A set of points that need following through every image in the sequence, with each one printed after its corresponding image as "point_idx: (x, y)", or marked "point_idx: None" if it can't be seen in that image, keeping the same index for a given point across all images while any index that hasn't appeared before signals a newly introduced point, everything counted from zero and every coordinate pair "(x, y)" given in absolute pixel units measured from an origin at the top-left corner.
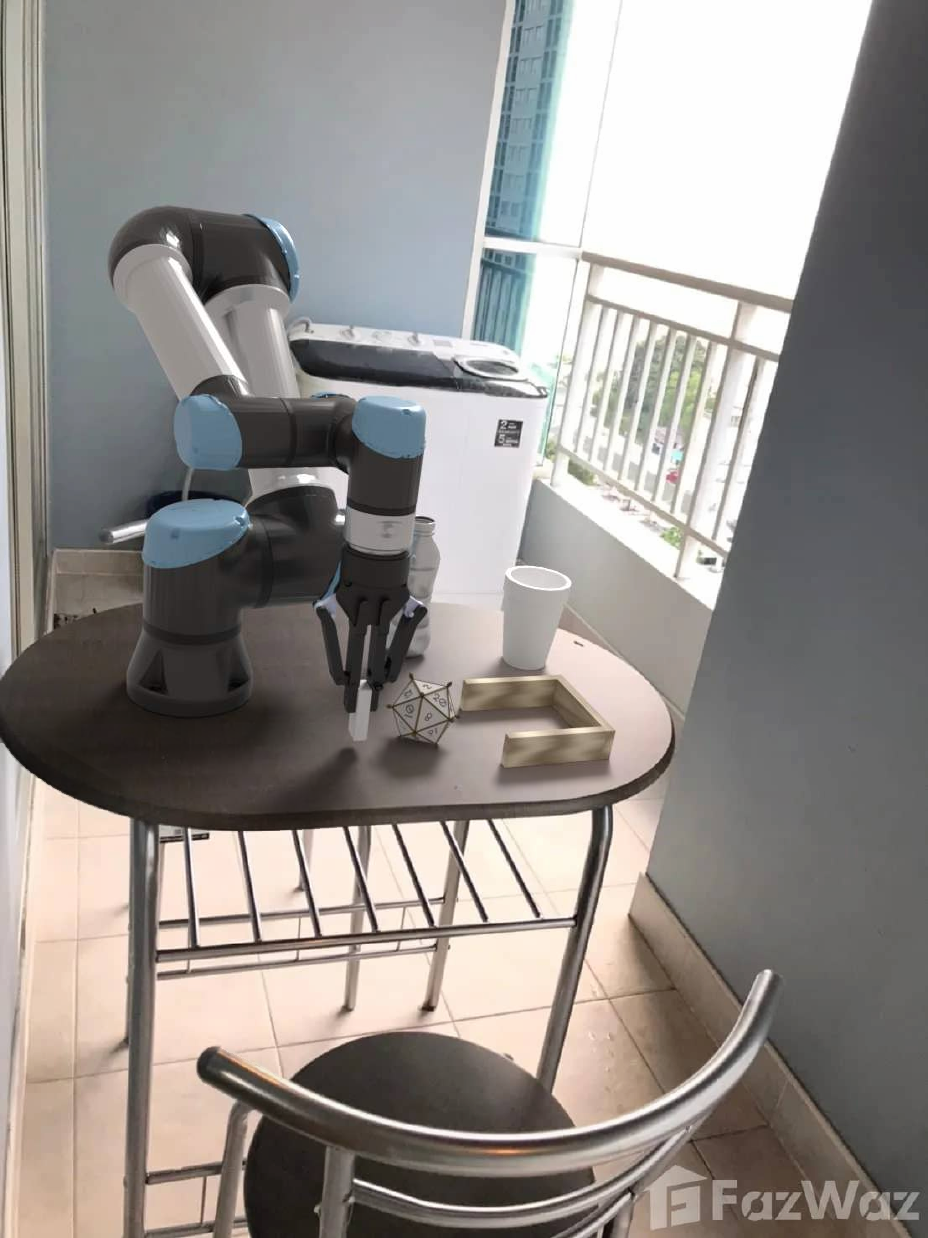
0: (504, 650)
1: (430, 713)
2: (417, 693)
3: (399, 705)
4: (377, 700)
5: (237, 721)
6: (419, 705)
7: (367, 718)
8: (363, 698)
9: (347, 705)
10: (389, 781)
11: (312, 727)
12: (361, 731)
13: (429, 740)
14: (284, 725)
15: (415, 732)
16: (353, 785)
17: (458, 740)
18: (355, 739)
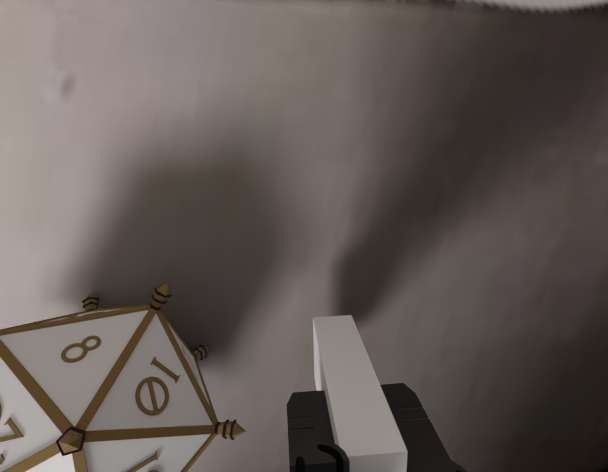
0: None
1: (66, 361)
2: (96, 465)
3: (190, 424)
4: (292, 428)
5: (578, 443)
6: (105, 395)
7: (327, 361)
8: (371, 420)
9: (416, 405)
10: (275, 144)
11: None
12: (336, 332)
13: (108, 309)
14: (478, 426)
15: (154, 299)
16: (385, 134)
17: None
18: (348, 317)
